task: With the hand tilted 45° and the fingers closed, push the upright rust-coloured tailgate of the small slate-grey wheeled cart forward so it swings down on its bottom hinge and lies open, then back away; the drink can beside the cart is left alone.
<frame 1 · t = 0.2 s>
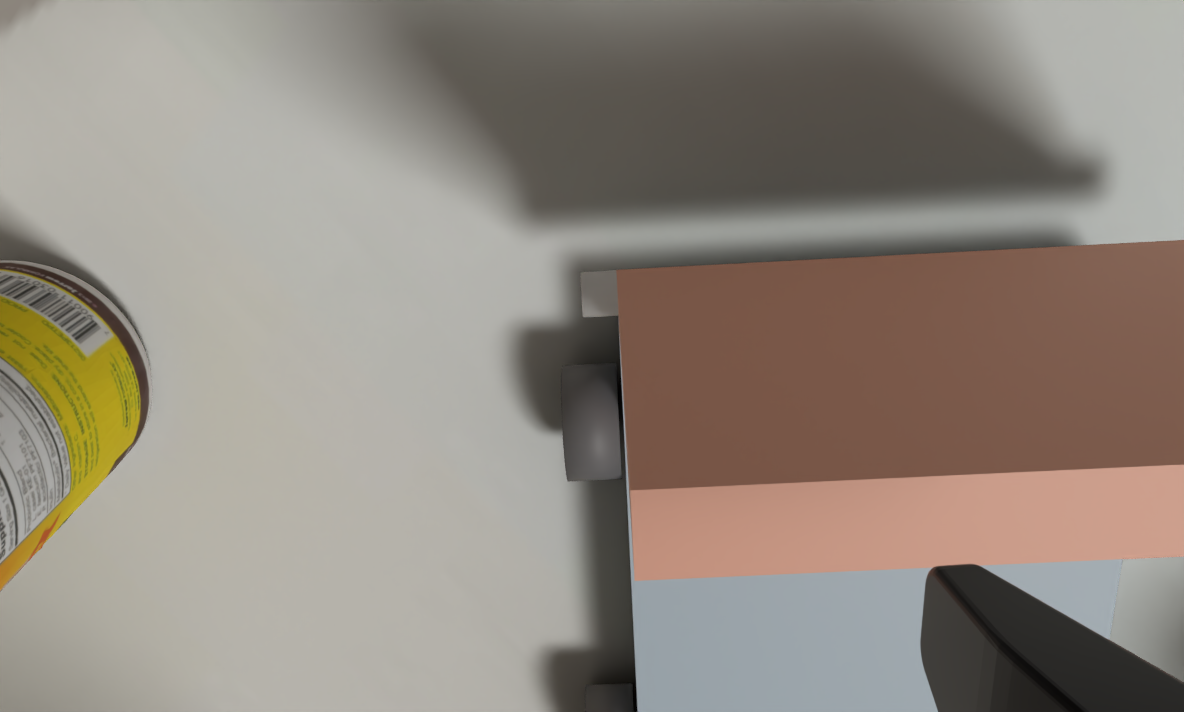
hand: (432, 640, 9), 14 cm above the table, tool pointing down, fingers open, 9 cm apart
tailgate: (972, 359, 16), point 7 cm above the table, hinge at 0.0°
cart bed: (847, 549, 25), on the table
supplement bottle: (49, 363, 24), on the table
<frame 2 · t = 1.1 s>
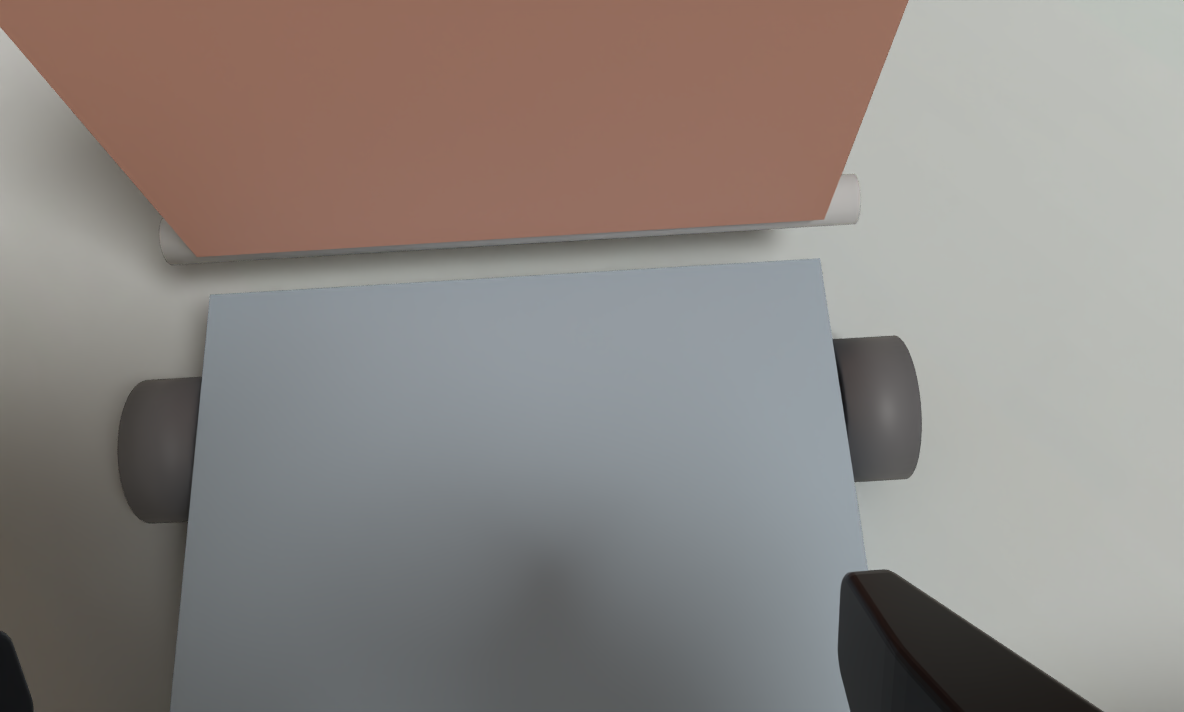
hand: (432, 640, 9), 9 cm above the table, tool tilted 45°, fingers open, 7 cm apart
tailgate: (481, 69, 14), point 7 cm above the table, hinge at 0.0°
cart bed: (538, 693, 18), on the table
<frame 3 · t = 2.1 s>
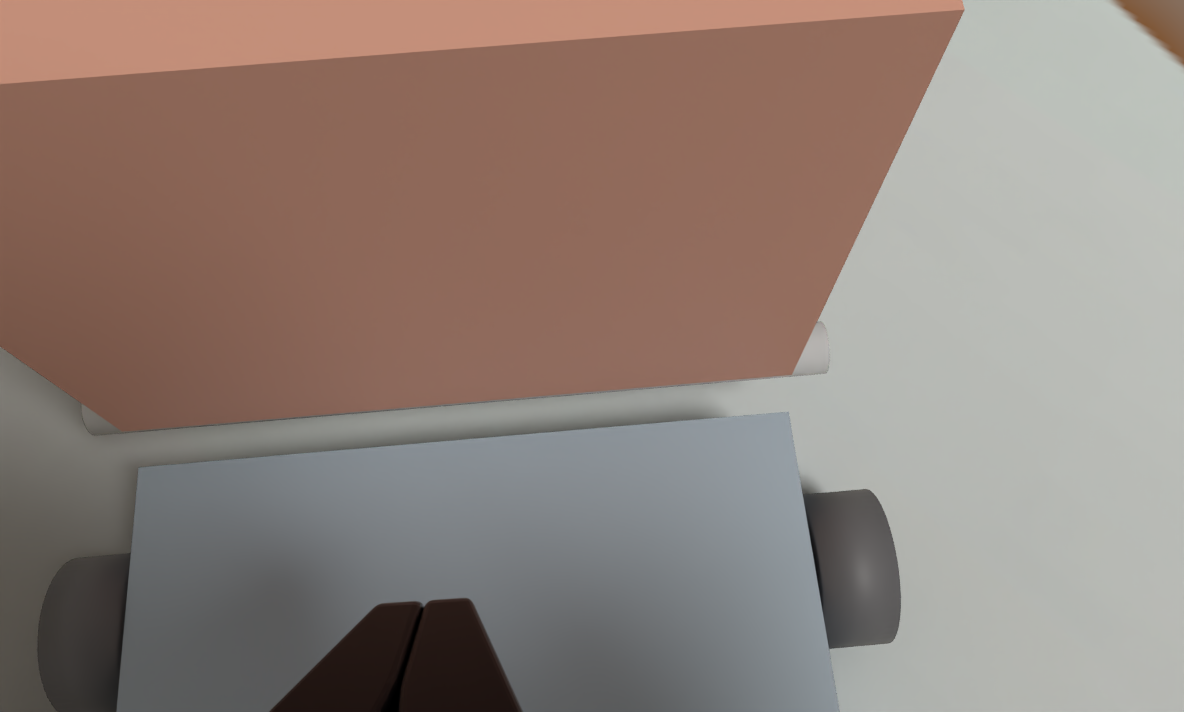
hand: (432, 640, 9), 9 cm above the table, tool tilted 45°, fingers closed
tailgate: (417, 259, 13), point 7 cm above the table, hinge at 0.0°
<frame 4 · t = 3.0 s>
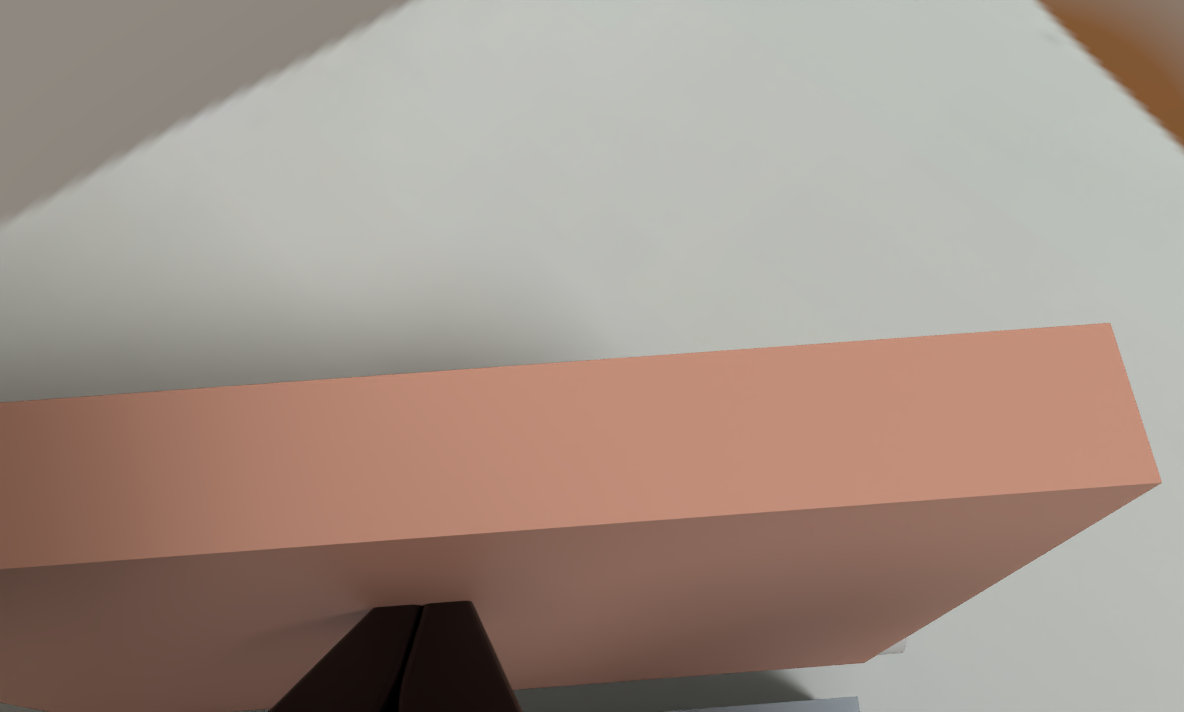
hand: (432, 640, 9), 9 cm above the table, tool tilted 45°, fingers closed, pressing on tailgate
tailgate: (444, 596, 11), point 7 cm above the table, hinge at 2.5°, touching gripper
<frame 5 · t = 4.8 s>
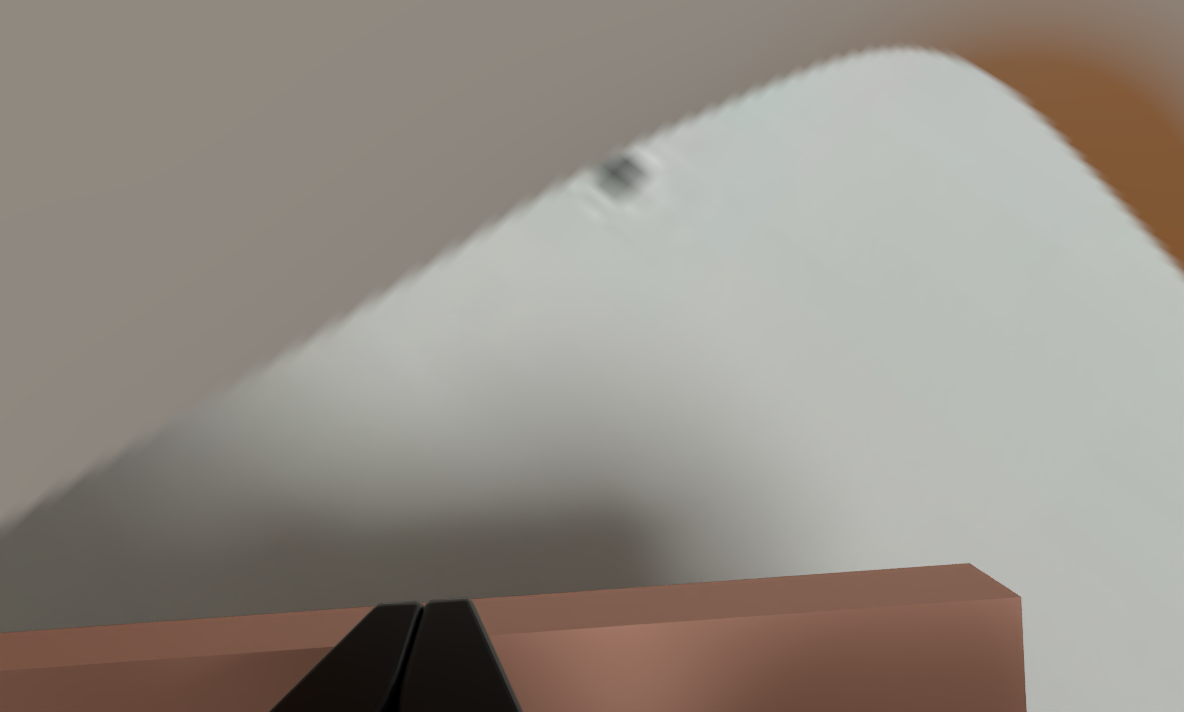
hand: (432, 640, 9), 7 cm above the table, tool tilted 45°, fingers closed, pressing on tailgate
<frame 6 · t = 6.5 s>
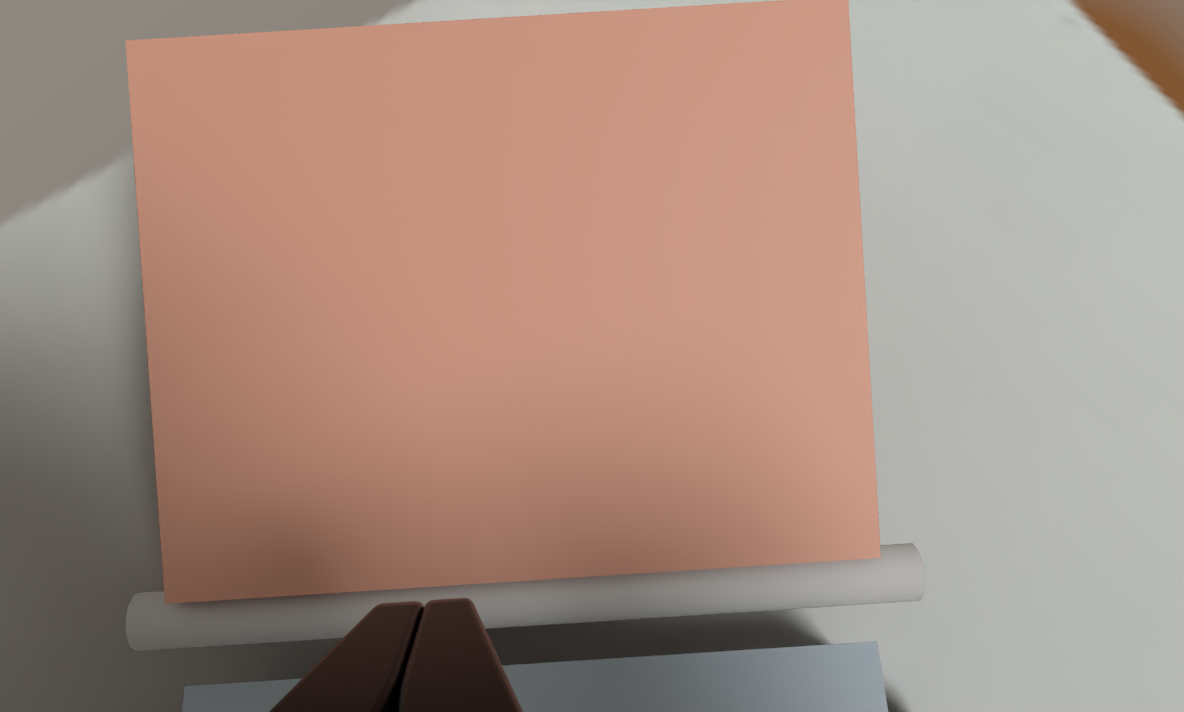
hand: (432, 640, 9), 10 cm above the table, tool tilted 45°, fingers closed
tailgate: (510, 329, 16), point 4 cm above the table, hinge at 67.3°
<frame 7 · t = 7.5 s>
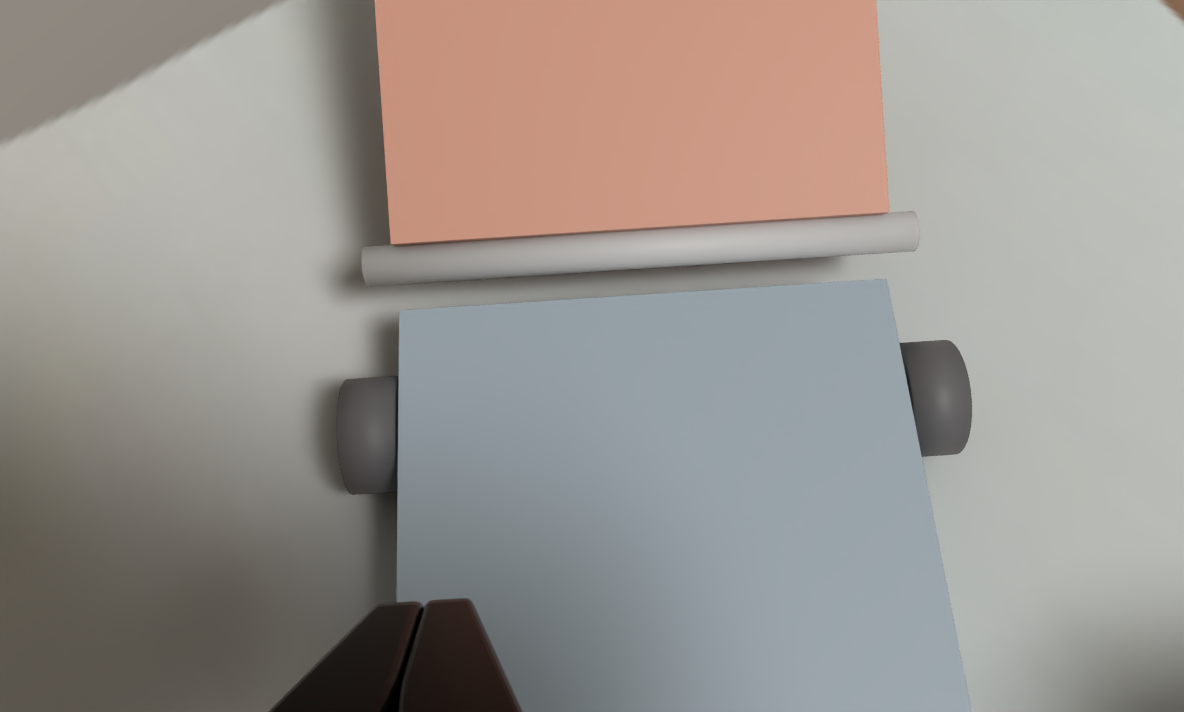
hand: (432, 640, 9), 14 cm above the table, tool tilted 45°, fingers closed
tailgate: (628, 59, 23), point 4 cm above the table, hinge at 67.3°
cart bed: (666, 627, 22), on the table
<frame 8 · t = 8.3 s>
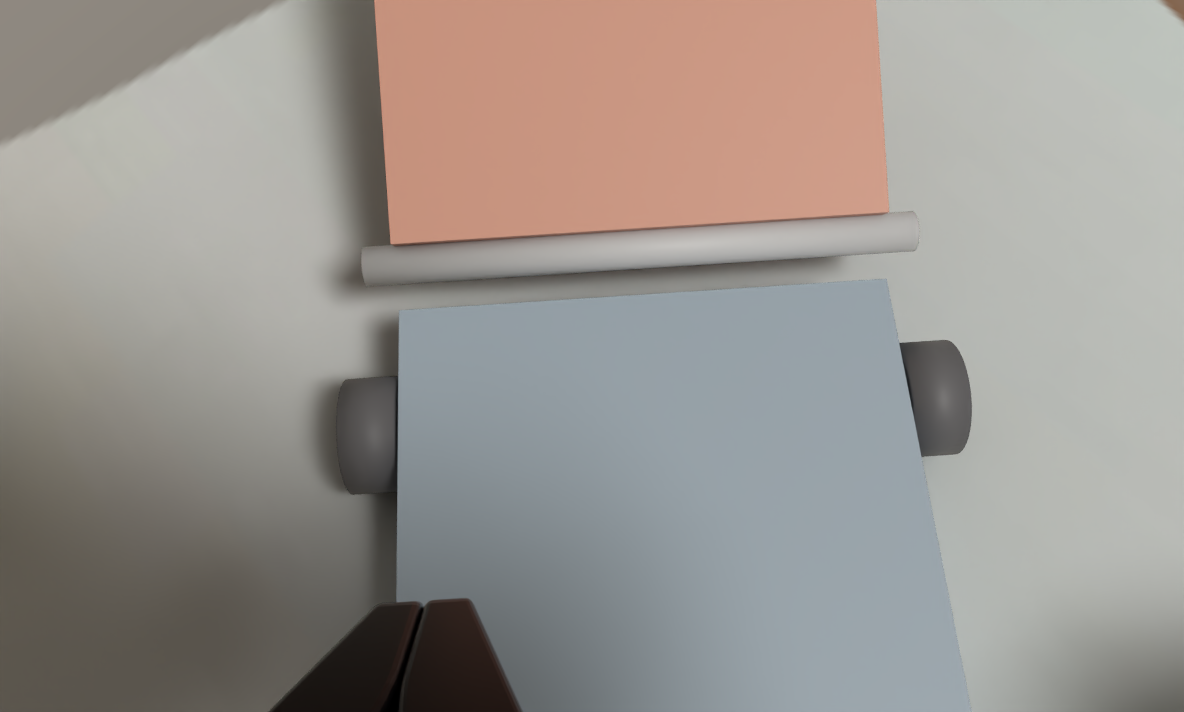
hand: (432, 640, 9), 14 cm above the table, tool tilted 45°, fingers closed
tailgate: (627, 59, 23), point 4 cm above the table, hinge at 67.3°
cart bed: (666, 627, 22), on the table
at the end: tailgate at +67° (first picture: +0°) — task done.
